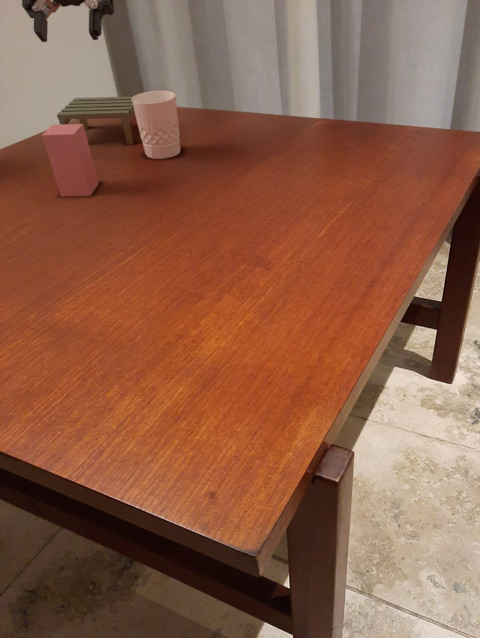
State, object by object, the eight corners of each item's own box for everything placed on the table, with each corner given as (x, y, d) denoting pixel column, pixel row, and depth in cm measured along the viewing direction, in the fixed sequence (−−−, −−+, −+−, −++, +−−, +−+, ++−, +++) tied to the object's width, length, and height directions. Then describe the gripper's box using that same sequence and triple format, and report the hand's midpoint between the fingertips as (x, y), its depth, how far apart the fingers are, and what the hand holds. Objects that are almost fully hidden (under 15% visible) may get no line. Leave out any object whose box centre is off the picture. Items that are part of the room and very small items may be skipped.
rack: (65, 146, 111) (56, 114, 107) (82, 127, 120) (74, 97, 116) (133, 144, 110) (127, 112, 107) (146, 125, 119) (140, 95, 115)
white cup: (170, 143, 110) (161, 88, 104) (191, 152, 106) (183, 96, 99) (135, 153, 107) (123, 97, 100) (155, 163, 102) (145, 105, 95)
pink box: (61, 196, 92) (41, 134, 86) (70, 184, 96) (52, 124, 89) (90, 196, 92) (73, 134, 85) (98, 184, 96) (83, 123, 89)
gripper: (15, -75, 87) (12, 23, 86) (103, -80, 86) (102, 19, 85) (38, -37, 94) (36, 54, 93) (120, -41, 94) (119, 51, 93)
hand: (67, 37), depth 89 cm, fingers open, 8 cm apart
